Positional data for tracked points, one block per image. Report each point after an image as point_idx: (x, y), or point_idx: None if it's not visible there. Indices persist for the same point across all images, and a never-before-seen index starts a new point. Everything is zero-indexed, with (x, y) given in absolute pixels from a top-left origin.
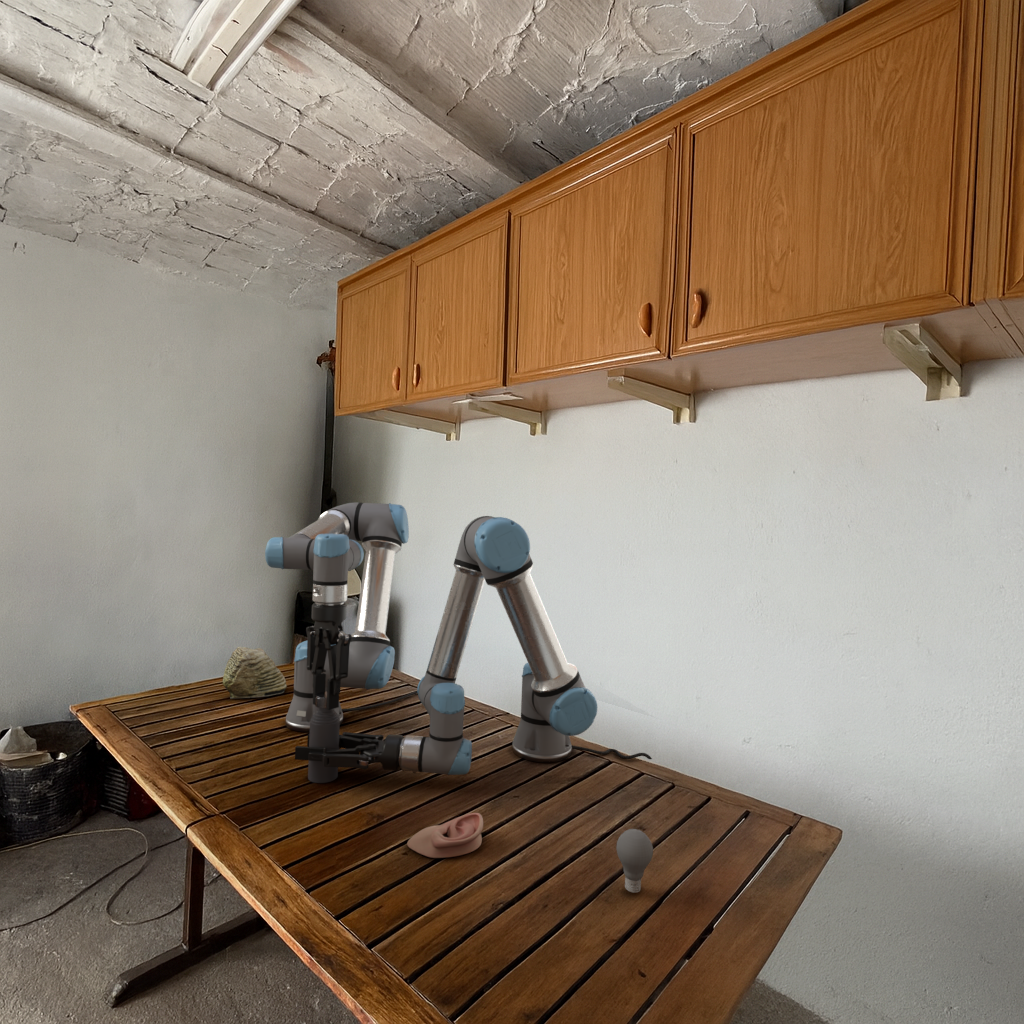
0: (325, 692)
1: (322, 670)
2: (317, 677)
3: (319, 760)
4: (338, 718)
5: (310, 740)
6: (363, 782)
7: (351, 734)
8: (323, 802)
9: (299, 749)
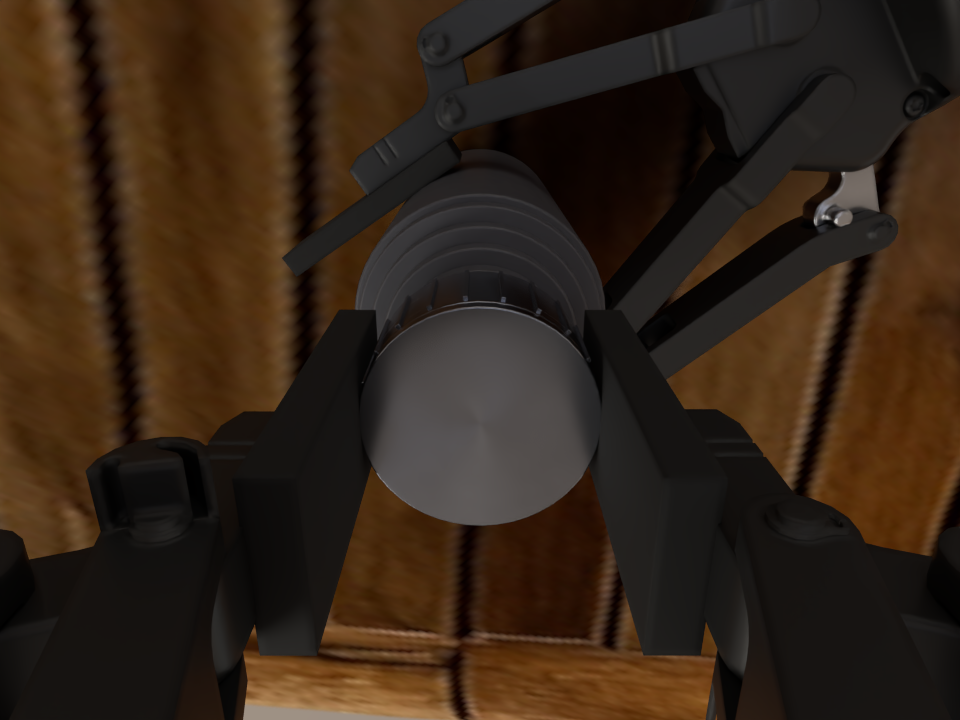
0: (401, 379)
1: (222, 551)
2: (320, 607)
3: None
4: (582, 258)
5: None
6: (692, 120)
7: (499, 27)
8: (689, 376)
9: None
